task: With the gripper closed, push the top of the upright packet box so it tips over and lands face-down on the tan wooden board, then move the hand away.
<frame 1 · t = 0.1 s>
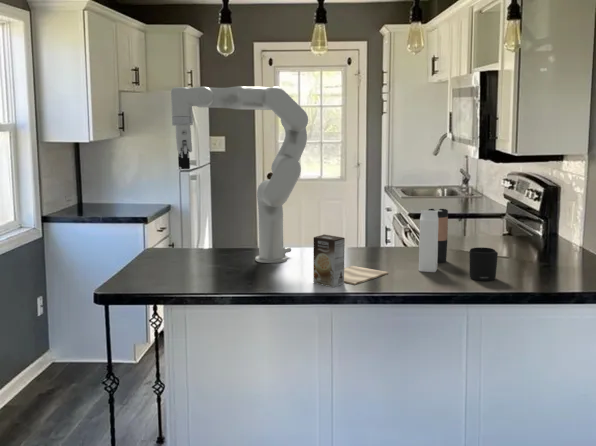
hand: (184, 167, 255), 37 cm above the worktop, tool pointing down, fingers open, 9 cm apart
coffee box: (328, 284, 233), on the worktop
travel mug: (436, 261, 265), on the worktop
milk: (428, 270, 250), on the worktop
pen holder: (482, 279, 237), on the worktop
tan wooden board: (353, 275, 243), on the worktop
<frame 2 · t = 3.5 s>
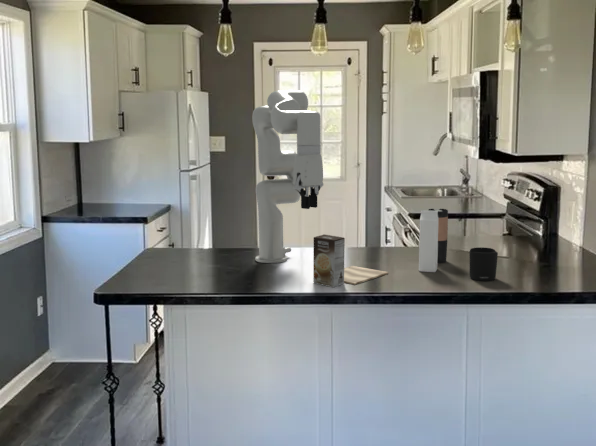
hand: (309, 207, 221), 27 cm above the worktop, tool pointing down, fingers open, 3 cm apart
nothing on the worktop moved.
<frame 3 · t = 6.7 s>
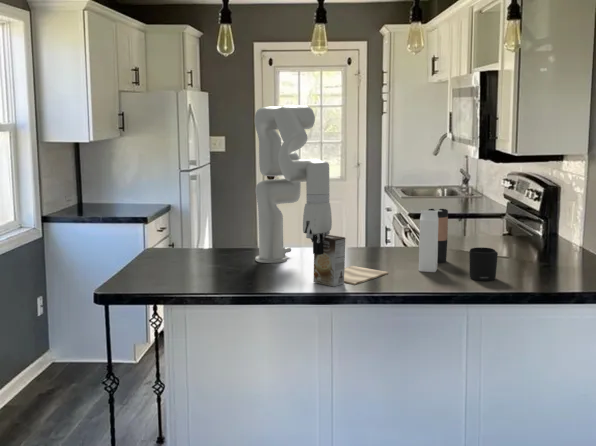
hand: (318, 253, 226), 11 cm above the worktop, tool pointing down, fingers closed
coffee box: (328, 283, 233), on the worktop, touching gripper
everything else where it was.
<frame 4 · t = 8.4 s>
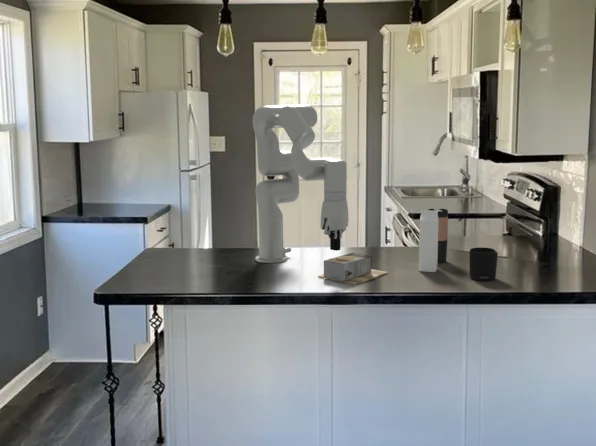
hand: (335, 249, 233), 11 cm above the worktop, tool pointing down, fingers closed
coffee box: (333, 270, 234), point 4 cm above the worktop, touching tan wooden board
everything else where it was.
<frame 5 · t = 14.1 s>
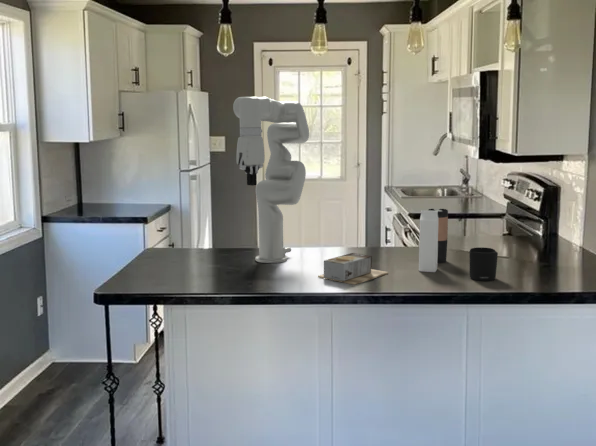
hand: (251, 185, 242), 32 cm above the worktop, tool pointing down, fingers closed
nothing on the worktop moved.
at the end: coffee box tilted 90°; coffee box inside the target area (4.2 cm from its centre), point 3.8 cm above the worktop; the gripper is holding nothing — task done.
